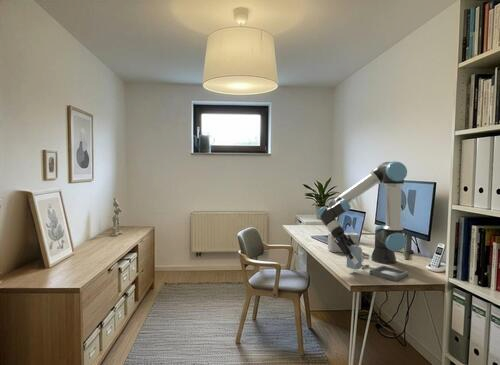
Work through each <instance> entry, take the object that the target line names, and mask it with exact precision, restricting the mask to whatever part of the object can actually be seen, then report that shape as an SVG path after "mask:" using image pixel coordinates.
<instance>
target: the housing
mask: <svg viewBox="0 0 500 365" xmlns="http://www.w3.org/2000/svg"><path fill="white" fill-rule="evenodd" d="M369 275H371V276H375V277H378V278H382V279H385V280H388V281H392V282H399V281H400V280H403V279H405V278H408V277H409V271H406V270H403V269H399V268H396V267H390V266H388V265H387V266H386V265H380V266H378V267H374V268H371V269H370V270H369Z"/></svg>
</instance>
